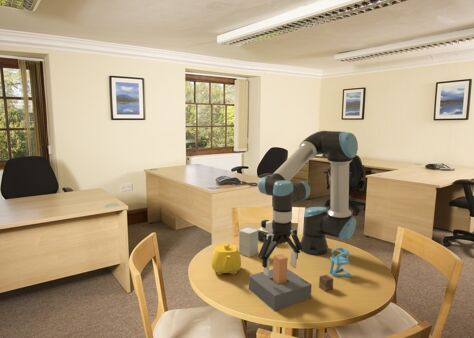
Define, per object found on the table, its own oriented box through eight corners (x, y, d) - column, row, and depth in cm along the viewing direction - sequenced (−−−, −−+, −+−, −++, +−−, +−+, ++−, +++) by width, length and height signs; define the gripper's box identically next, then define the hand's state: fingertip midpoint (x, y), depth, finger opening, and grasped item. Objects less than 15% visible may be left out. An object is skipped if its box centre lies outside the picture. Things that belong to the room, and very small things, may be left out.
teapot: (238, 262, 169) (239, 237, 167) (243, 282, 149) (244, 254, 147) (210, 262, 168) (210, 238, 165) (212, 283, 148) (212, 255, 146)
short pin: (325, 285, 148) (326, 274, 147) (332, 289, 144) (333, 278, 144) (318, 287, 146) (319, 276, 145) (325, 291, 142) (326, 280, 142)
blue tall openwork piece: (326, 270, 161) (328, 246, 159) (342, 269, 163) (344, 245, 161) (334, 278, 154) (336, 253, 152) (351, 276, 156) (353, 251, 154)
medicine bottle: (257, 241, 196) (257, 220, 194) (264, 237, 202) (265, 218, 200) (267, 244, 192) (268, 223, 190) (274, 240, 197) (275, 220, 195)
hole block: (283, 279, 153) (283, 266, 152) (310, 298, 137) (311, 284, 136) (248, 288, 144) (249, 275, 143) (274, 310, 128) (274, 295, 127)
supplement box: (258, 253, 180) (259, 230, 178) (249, 257, 174) (249, 233, 172) (247, 249, 185) (248, 226, 183) (238, 253, 179) (238, 230, 177)
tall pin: (280, 290, 143) (281, 253, 140) (286, 294, 140) (287, 257, 137) (272, 292, 141) (273, 255, 138) (278, 297, 138) (279, 259, 135)
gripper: (300, 213, 144) (298, 260, 148) (250, 222, 132) (248, 273, 136) (312, 218, 138) (309, 267, 142) (260, 228, 126) (259, 281, 129)
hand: (280, 270), depth 139 cm, fingers open, 13 cm apart
